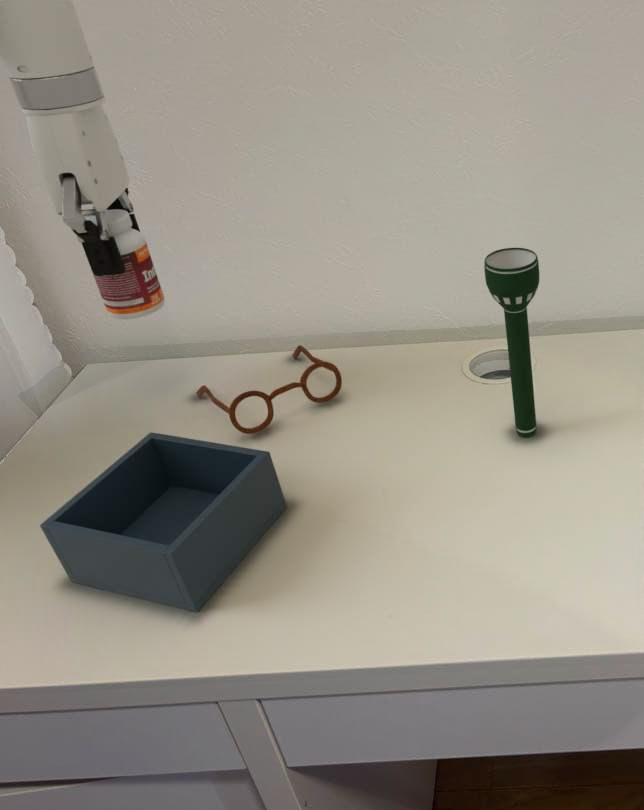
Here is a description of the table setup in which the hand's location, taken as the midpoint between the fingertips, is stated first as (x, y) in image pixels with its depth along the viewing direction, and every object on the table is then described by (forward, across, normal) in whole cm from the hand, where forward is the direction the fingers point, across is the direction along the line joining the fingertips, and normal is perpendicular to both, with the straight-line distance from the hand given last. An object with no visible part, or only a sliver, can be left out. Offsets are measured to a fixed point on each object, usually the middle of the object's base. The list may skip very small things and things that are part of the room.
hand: (120, 259), depth 88 cm
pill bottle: (+6, 0, 0) cm, 6 cm away
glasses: (+17, +5, +14) cm, 22 cm away
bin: (+17, +29, +9) cm, 35 cm away
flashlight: (+16, +19, +42) cm, 49 cm away
